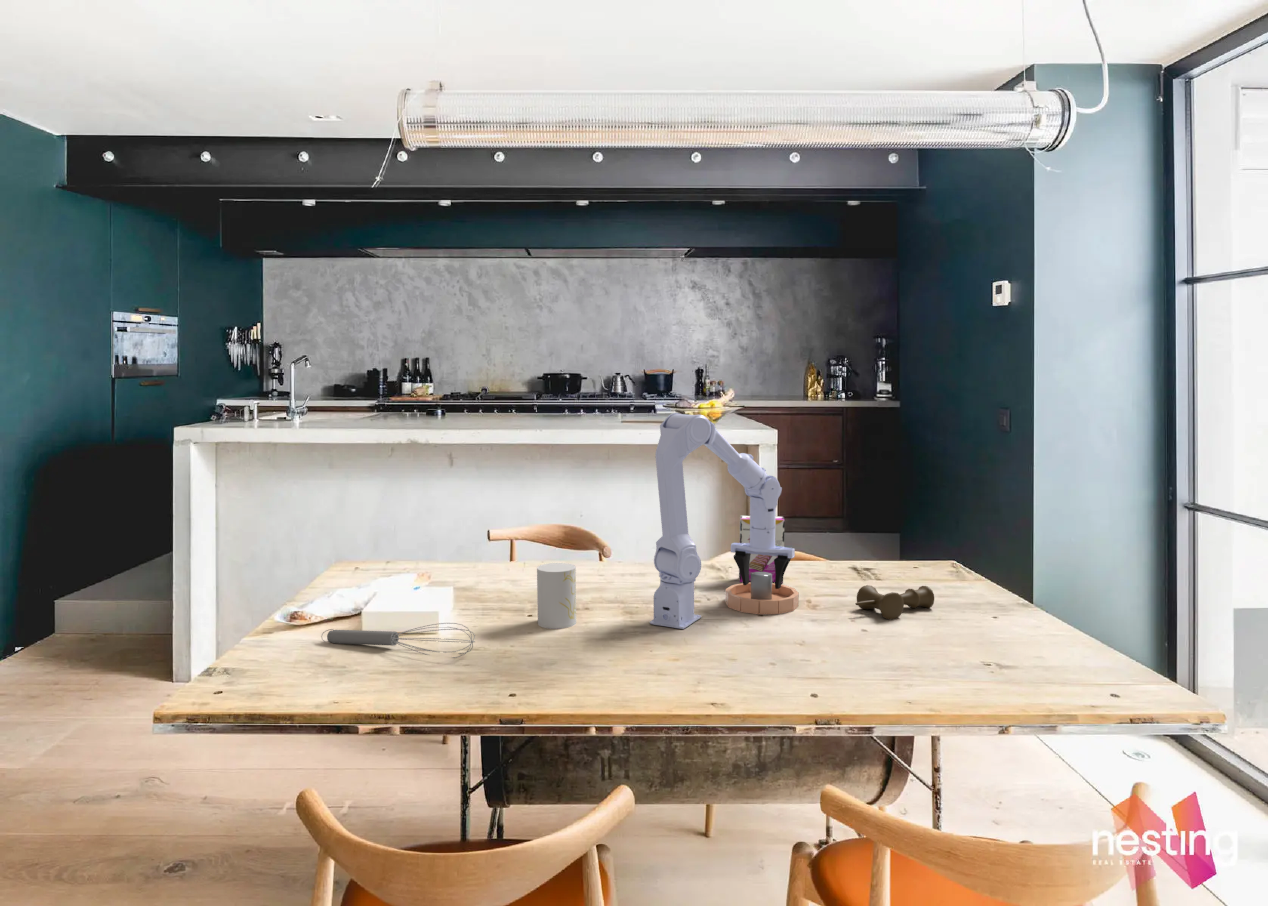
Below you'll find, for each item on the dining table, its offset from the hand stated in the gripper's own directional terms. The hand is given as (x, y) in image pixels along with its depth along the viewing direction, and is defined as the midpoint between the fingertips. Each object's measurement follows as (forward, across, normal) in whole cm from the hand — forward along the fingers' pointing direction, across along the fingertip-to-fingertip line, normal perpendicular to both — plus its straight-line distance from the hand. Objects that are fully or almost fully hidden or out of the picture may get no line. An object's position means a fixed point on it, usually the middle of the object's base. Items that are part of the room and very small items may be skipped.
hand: (761, 586), depth 189 cm
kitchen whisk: (+5, +52, +61) cm, 81 cm away
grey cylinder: (+3, 0, 0) cm, 3 cm away
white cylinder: (+4, +34, +33) cm, 48 cm away
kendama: (+5, -28, -8) cm, 29 cm away
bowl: (+4, 0, 0) cm, 4 cm away
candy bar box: (+4, +7, -20) cm, 22 cm away
